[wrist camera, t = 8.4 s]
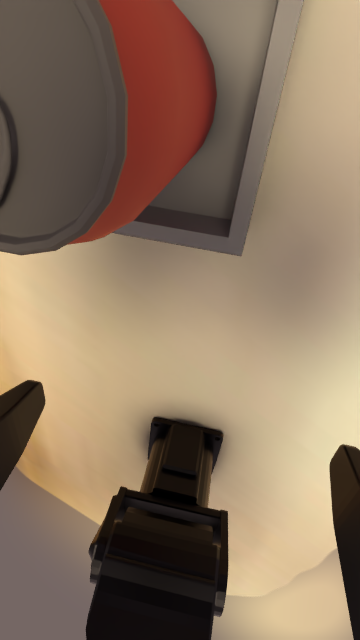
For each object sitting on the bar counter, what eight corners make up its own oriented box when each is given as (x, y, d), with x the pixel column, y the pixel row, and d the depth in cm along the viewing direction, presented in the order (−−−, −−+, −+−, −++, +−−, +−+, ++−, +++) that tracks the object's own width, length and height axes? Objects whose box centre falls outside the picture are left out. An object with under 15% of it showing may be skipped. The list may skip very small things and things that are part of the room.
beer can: (74, 150, 17) (-156, 223, 7) (87, -23, 13) (-354, -338, 4) (194, 191, 17) (120, 316, 8) (240, 30, 13) (212, -138, 4)
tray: (242, 231, 19) (241, 256, 16) (51, 197, 20) (18, 215, 17) (313, -71, 12) (333, -120, 9) (18, -102, 13) (-47, -155, 10)
